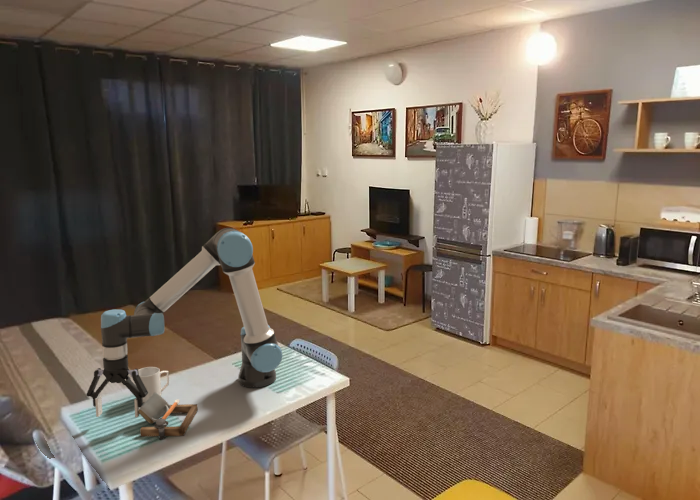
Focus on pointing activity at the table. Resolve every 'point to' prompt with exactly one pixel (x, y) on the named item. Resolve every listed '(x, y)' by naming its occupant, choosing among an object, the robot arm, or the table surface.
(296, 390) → the table surface
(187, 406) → the brown wooden flat frame
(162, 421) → the orange long spoon
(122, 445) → the table surface
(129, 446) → the table surface
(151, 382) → the mug
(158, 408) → the ceramic mug
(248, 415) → the table surface
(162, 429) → the dark grey ring
